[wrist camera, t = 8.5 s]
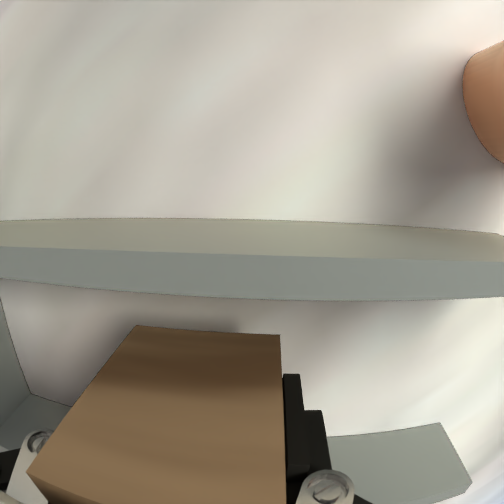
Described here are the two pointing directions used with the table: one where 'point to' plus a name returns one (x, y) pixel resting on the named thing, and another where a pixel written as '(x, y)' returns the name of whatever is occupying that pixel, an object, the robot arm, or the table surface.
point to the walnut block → (173, 424)
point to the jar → (486, 97)
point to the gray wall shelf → (261, 287)
